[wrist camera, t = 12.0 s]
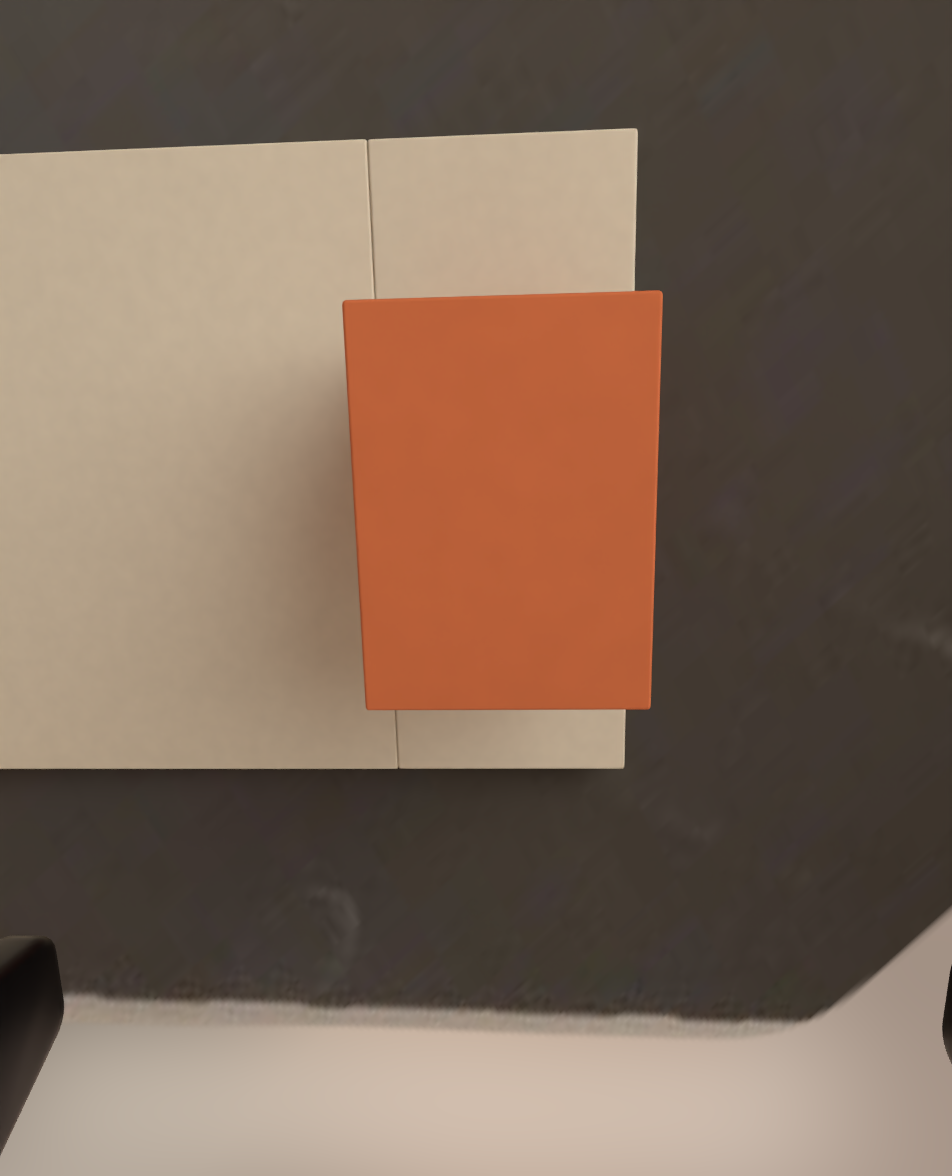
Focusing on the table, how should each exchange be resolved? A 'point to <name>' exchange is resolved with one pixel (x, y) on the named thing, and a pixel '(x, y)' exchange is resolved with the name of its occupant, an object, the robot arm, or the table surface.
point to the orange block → (505, 498)
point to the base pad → (246, 435)
